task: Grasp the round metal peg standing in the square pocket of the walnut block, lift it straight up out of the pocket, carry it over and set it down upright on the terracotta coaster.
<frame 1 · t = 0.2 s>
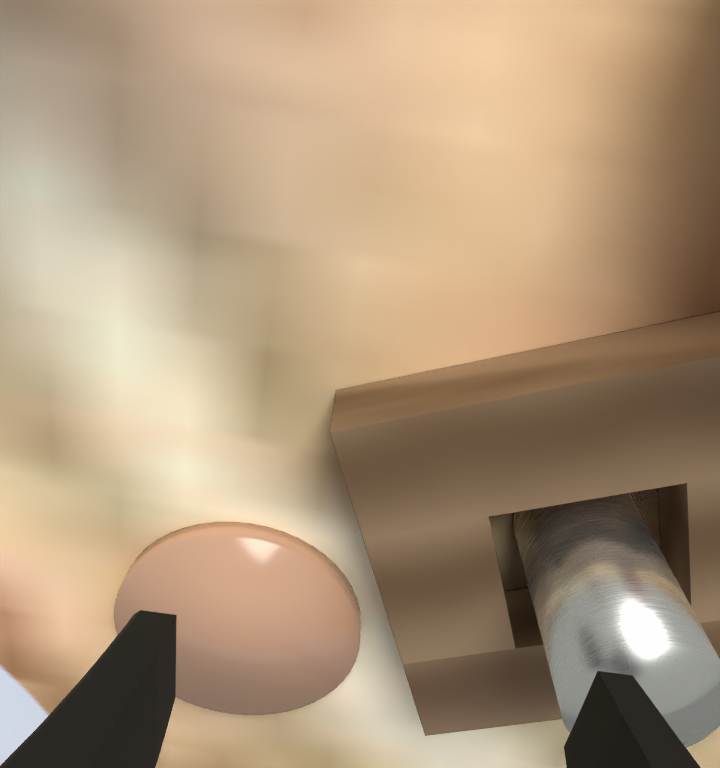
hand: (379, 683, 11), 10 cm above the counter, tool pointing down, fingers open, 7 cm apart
round metal peg: (603, 596, 19), in the pocket block
pocket block: (573, 519, 22), on the counter
coaster: (241, 616, 25), on the counter
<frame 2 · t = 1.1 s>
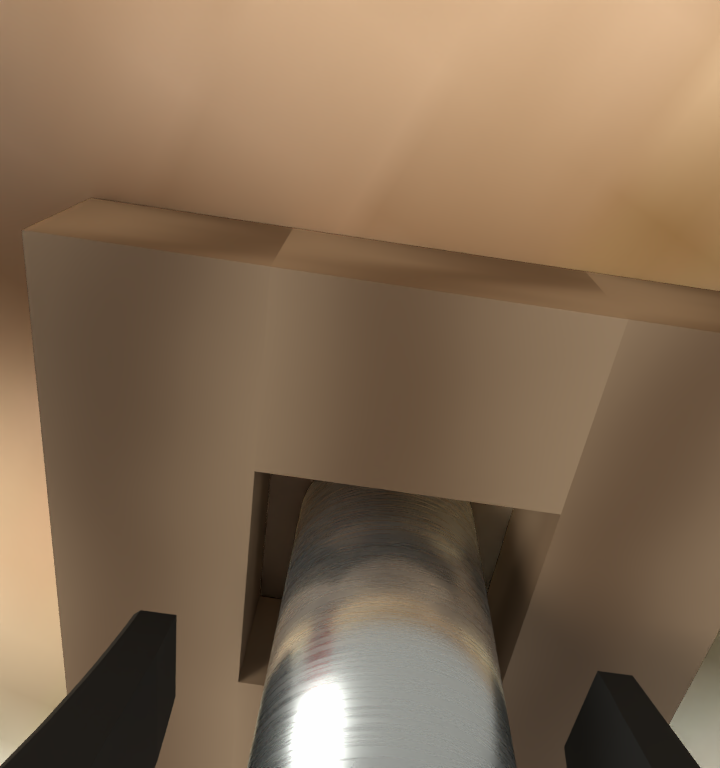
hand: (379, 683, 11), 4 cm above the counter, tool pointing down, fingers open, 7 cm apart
round metal peg: (383, 645, 12), in the pocket block
pocket block: (385, 524, 15), on the counter
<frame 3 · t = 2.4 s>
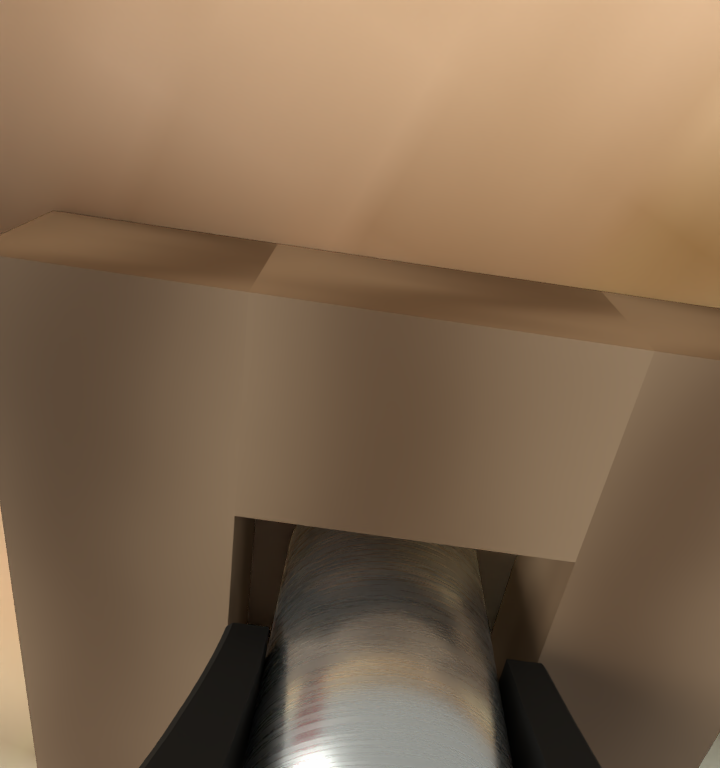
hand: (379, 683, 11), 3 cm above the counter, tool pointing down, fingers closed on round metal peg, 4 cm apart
round metal peg: (378, 707, 11), in the pocket block, touching gripper
pocket block: (381, 561, 14), on the counter
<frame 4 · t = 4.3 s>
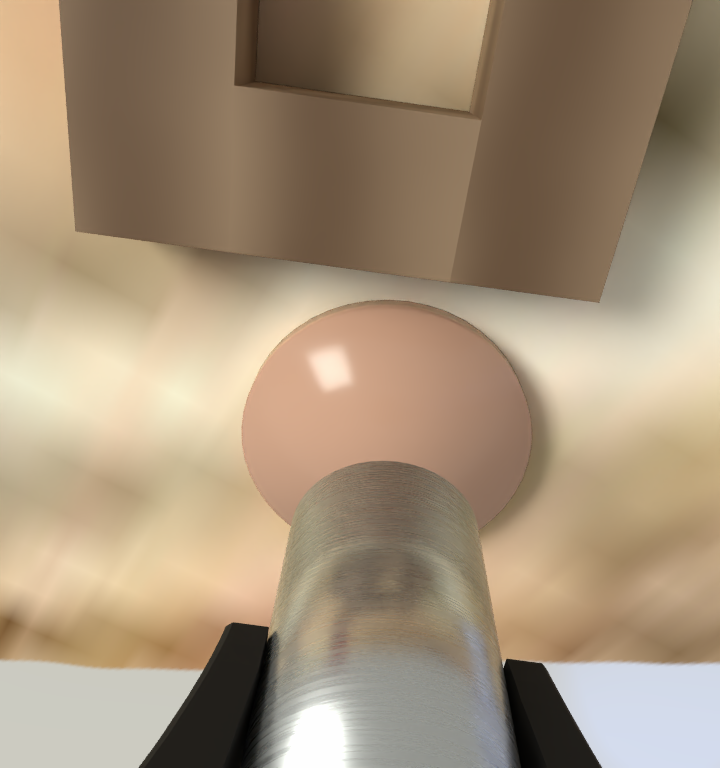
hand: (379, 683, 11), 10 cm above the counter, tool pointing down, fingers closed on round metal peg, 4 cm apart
round metal peg: (381, 680, 11), point 11 cm above the counter, touching gripper
coaster: (385, 432, 21), on the counter
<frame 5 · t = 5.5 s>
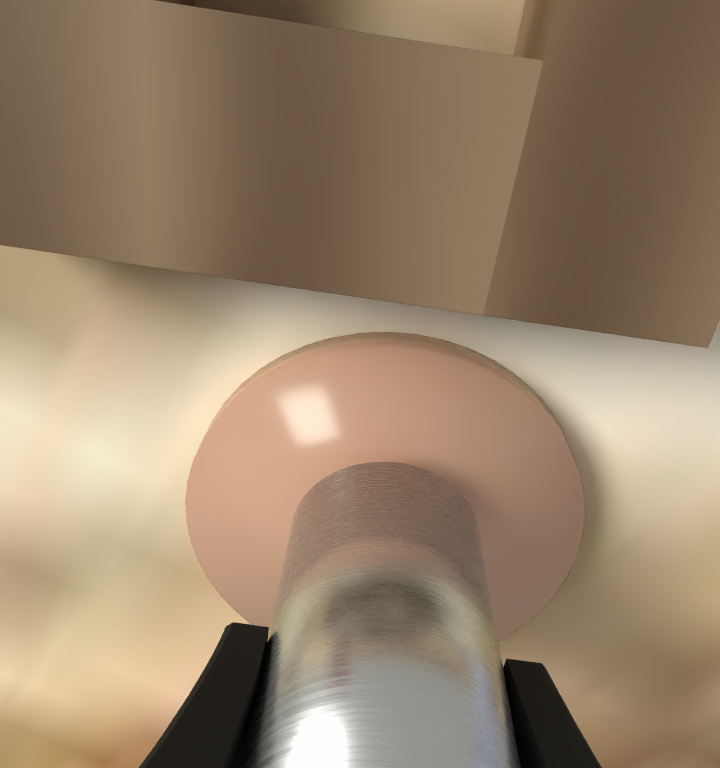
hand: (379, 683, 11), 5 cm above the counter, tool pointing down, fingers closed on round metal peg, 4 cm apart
round metal peg: (382, 681, 11), point 5 cm above the counter, touching gripper
coaster: (383, 507, 16), on the counter
when the fingers open (5 cm above the counter, at t = 6.3 s): round metal peg stays where it is, resting on coaster.
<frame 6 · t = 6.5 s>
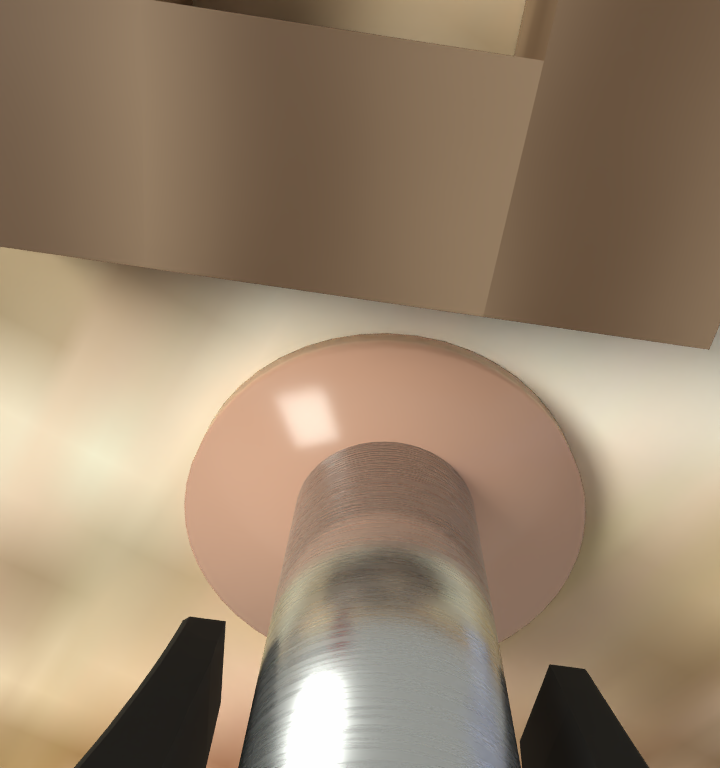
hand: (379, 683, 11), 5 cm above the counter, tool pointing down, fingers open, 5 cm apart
round metal peg: (382, 643, 11), on the coaster, point 4 cm above the counter
coaster: (382, 509, 15), on the counter
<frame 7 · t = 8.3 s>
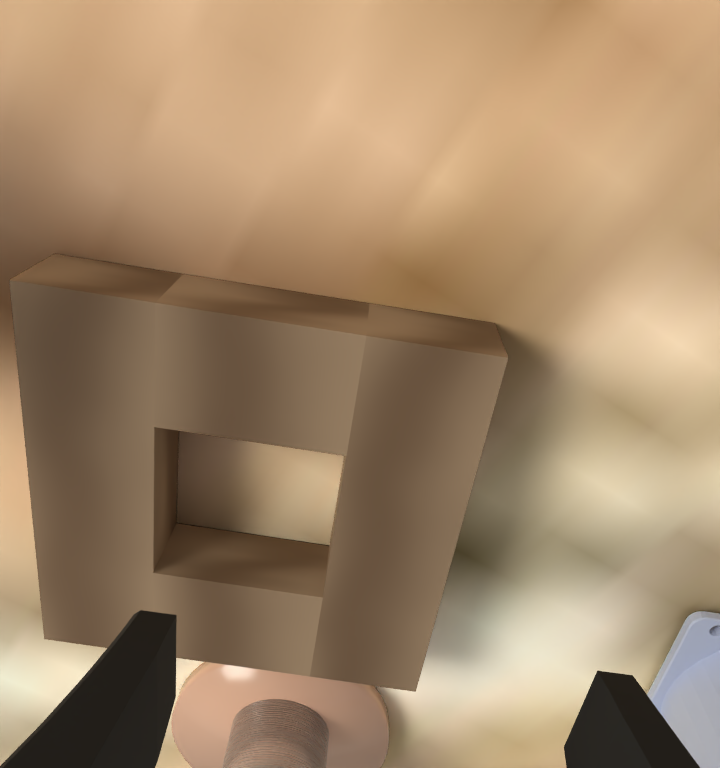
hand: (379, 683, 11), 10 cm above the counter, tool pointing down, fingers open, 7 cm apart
pocket block: (259, 471, 22), on the counter
coaster: (282, 720, 28), on the counter
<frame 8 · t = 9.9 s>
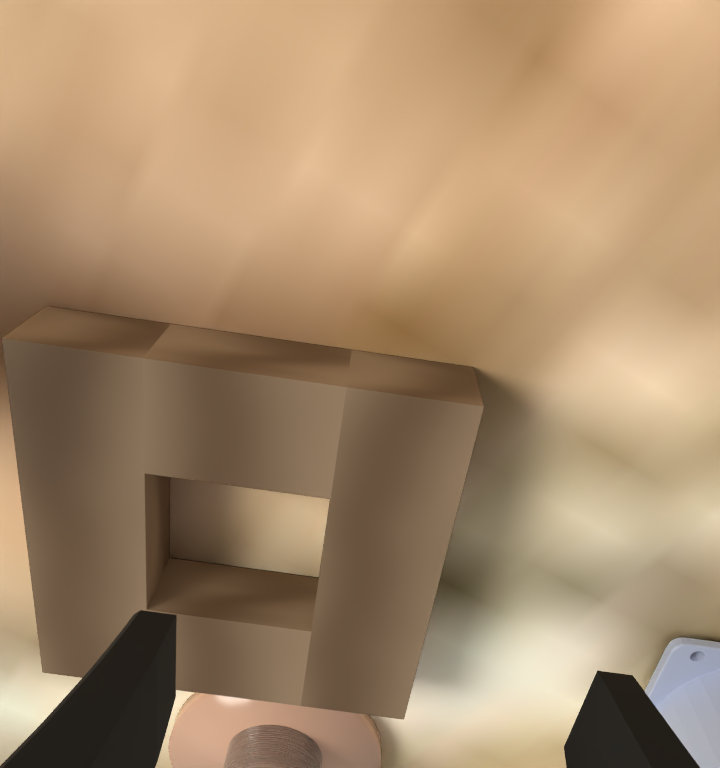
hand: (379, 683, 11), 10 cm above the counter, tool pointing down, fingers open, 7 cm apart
pocket block: (248, 508, 23), on the counter
coaster: (277, 743, 28), on the counter
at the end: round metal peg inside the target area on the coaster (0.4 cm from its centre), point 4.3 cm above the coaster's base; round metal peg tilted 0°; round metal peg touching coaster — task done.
